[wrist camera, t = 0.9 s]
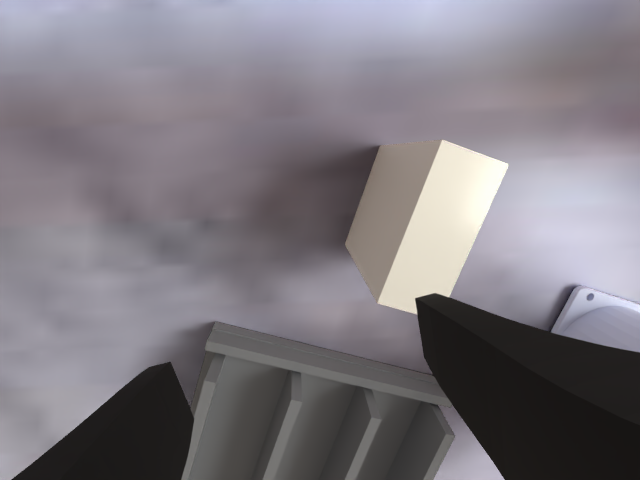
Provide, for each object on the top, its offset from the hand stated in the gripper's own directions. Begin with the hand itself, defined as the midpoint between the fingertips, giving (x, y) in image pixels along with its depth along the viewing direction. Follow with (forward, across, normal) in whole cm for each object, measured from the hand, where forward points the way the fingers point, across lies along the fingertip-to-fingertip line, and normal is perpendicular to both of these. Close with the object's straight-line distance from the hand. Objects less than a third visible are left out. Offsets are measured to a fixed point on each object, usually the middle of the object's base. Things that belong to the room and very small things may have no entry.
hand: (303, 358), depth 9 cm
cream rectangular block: (+10, -6, -2) cm, 12 cm away
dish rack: (+10, +3, +13) cm, 17 cm away
